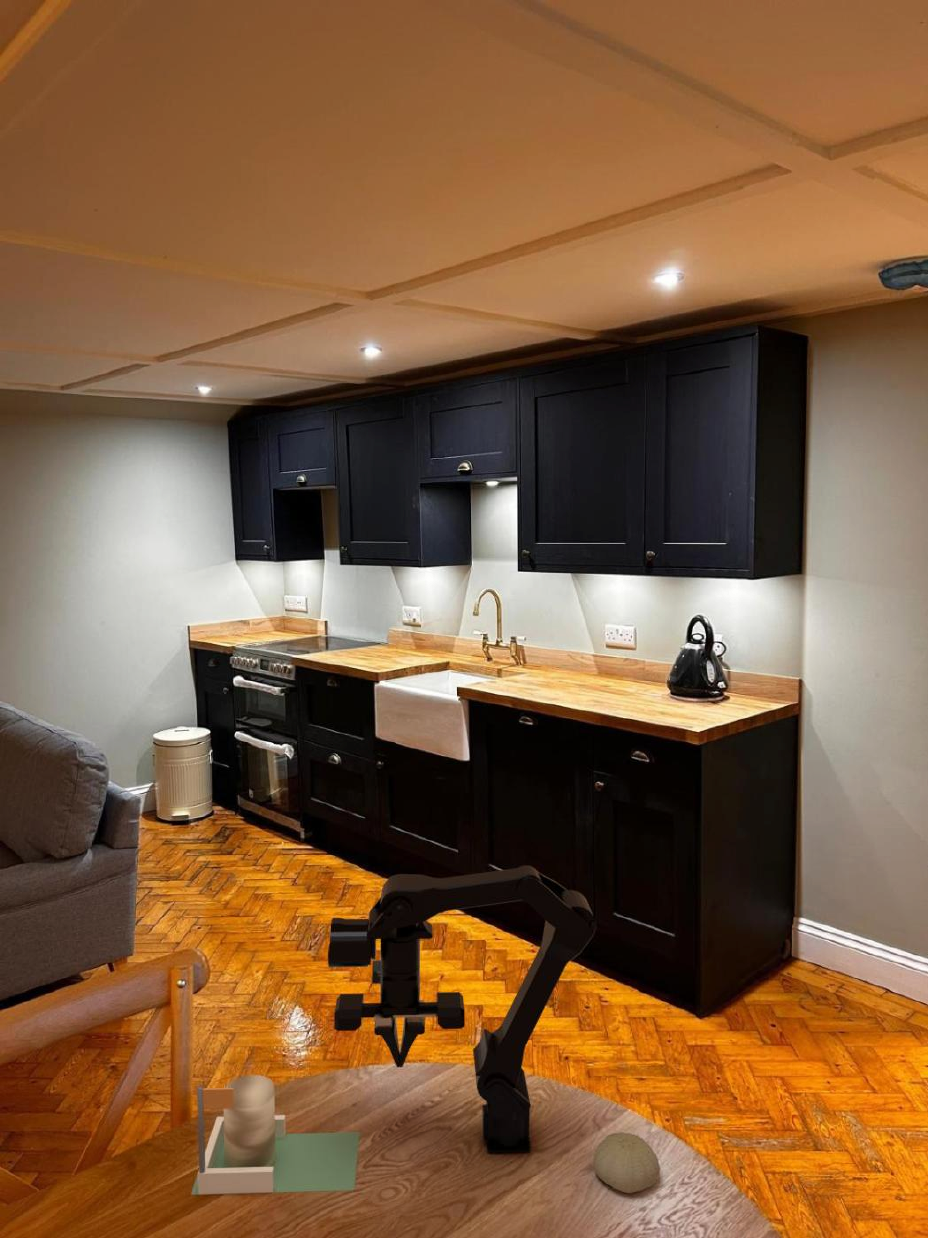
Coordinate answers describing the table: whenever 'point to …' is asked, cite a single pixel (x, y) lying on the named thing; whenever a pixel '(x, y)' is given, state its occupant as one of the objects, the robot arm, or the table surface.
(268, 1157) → the birch cylinder
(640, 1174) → the sea urchin shell
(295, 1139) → the putting mat
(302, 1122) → the table surface
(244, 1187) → the white frame
